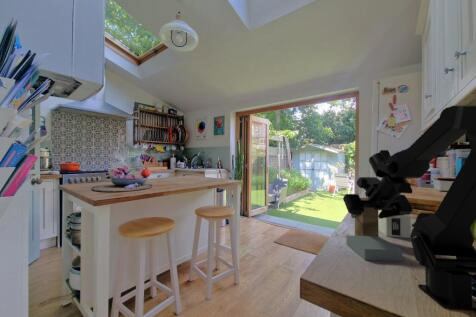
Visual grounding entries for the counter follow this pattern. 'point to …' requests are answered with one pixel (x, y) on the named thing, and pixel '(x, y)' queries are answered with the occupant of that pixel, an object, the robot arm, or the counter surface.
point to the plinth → (374, 248)
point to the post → (367, 222)
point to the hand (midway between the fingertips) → (365, 217)
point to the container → (395, 226)
